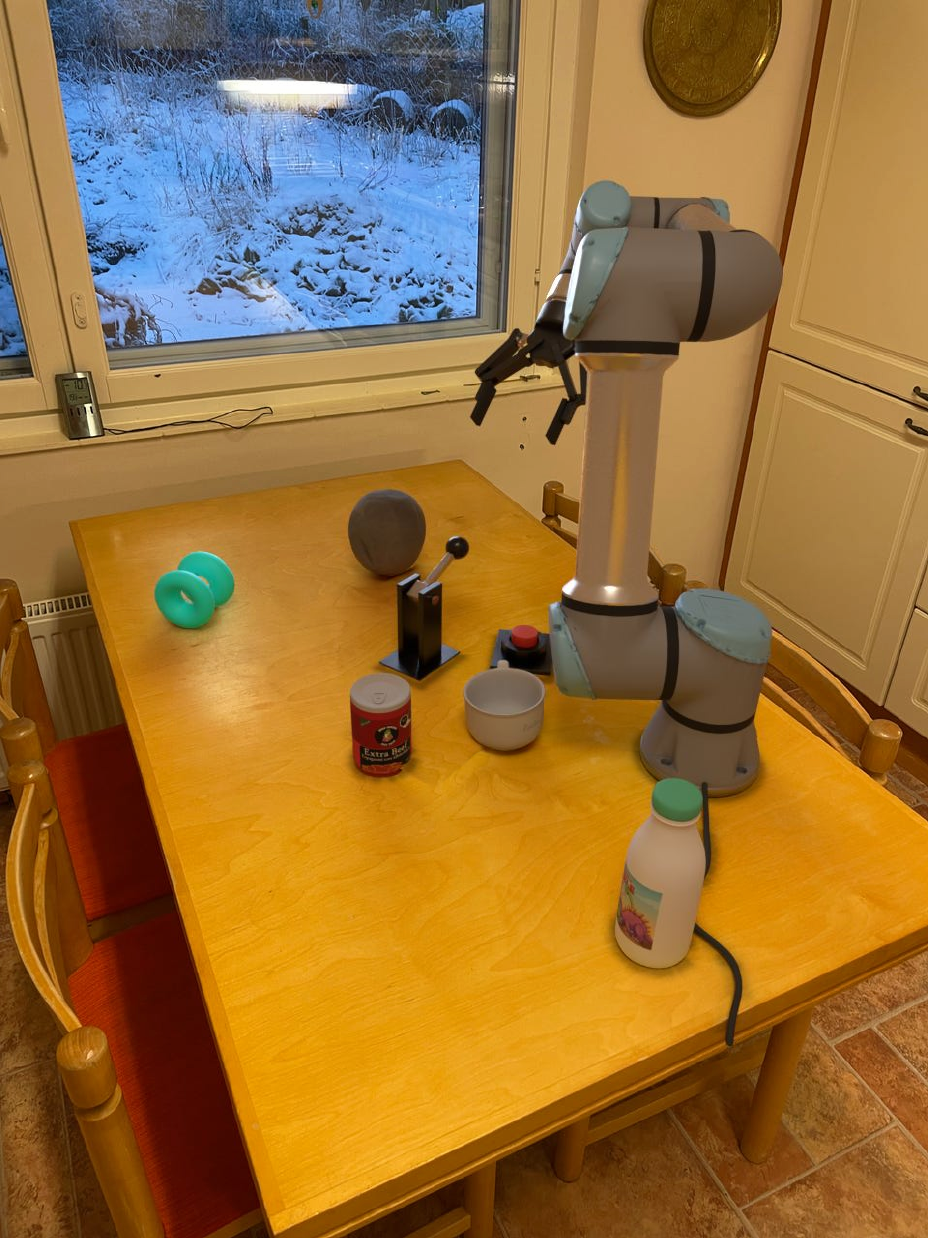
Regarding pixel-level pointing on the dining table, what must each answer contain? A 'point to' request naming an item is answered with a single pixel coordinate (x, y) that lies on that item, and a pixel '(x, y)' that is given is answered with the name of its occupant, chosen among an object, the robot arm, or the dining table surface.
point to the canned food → (381, 724)
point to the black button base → (523, 654)
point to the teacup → (504, 707)
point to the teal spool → (194, 589)
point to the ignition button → (524, 636)
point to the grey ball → (387, 531)
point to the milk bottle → (663, 878)
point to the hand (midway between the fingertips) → (511, 431)
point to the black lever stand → (419, 632)
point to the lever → (440, 566)
